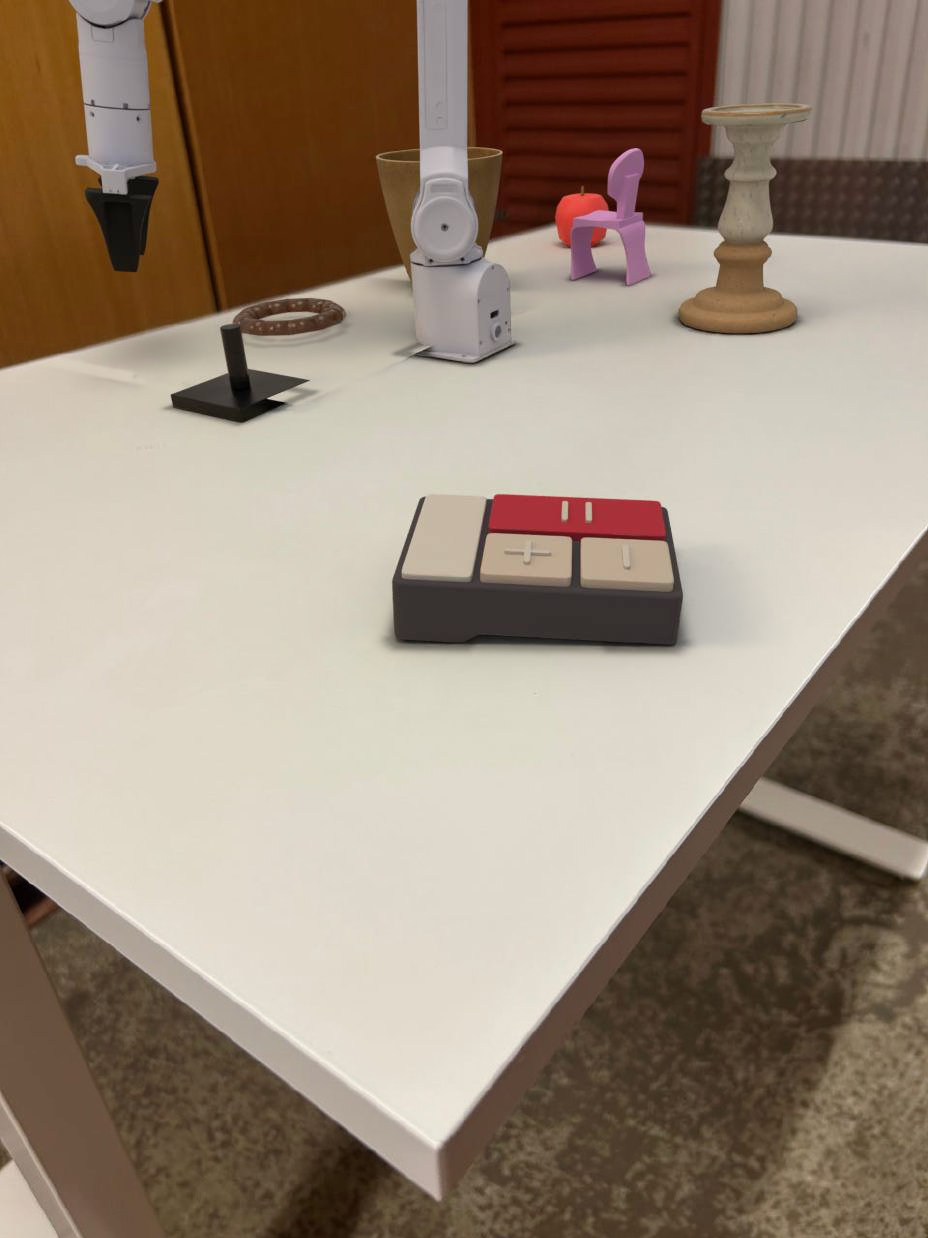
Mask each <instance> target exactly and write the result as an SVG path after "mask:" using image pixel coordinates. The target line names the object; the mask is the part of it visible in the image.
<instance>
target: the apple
mask: <svg viewBox="0 0 928 1238" xmlns="http://www.w3.org/2000/svg"><path fill="white" fill-rule="evenodd" d="M580 186H581V185H580ZM598 210H601V211H610V210H609V204H608V203H607V202H606V200H605V198H604V197H603V195H601V194H598V193H591V192H590V193H587V192H585V186H584V185H582V186H581V187H580V193H573V194H568V195H565V196H562V198H561V199H560V201H559V202H558V204H557V206H556V211H555V215H554V219H555V225H556V230H557V237H558V239H559V240H560V241H562V242H563V243H564V244H566V245H567V246H568V247H569V248H571V242H570V230H571V228H572V227H573V218H576V217H580V216H585V215H588V214H590V213H592V212H595V211H598ZM607 231H608V229H607V228H602V227H595V228H594V231H593V234H592V239H591V248H592V247H594V246H596V245H597V244H598V243H600V242H601V241H602V240H604V239H605V238H606V235H607Z"/></svg>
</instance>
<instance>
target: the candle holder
mask: <svg viewBox="0 0 928 1238" xmlns="http://www.w3.org/2000/svg"><path fill="white" fill-rule="evenodd" d="M812 115H813V106H812V105H810V104H806V103H790V102H789V103H787V102H785V103H784V102H781V103H779V102H778V103H776V102H775V103H774V102H773V103H772V102H771V103H747V104H731V105H721V106H712V107H708V108H704V109H703V110H702V111H701V113H700V120H701V122H702V123H703V124H706V125H710V126H720V127H721V126H723V127H724V129H725V135H726V137H727V140H728V141H729V142H730V143H731V144H732V147H733V153H734V154H733V160H732V163H731V165H729V167H728V168H727V169H725V171H724V173H723V175H724V178H725V179H726V180H727V181H729V186H728V190H727V191H728V192H727V195H726V199H725V203H724V206H723V209H722V211H721V214H720V216H719V218H718V222H717V231H718V233H719V235H720V236H721V237H722V238H723V241H721V242H720V243H719V245H718V246H717V247H716V248H715V249H714V250H713V257H714V259H716V262H717V263H718V264H719V268H718V274H717V279H716V283H715V285H714V286H711V287H706V288H704V289H701V290H699V291H698V292H696V294H695V295H694V297H691V298H688V299H686V300H685V301H683V302H682V303H681V304H680V306H679V308H678V313H677V314H678V319H679V321H680V322H681V323H682V324H683V325H685V326H688V327H689V328H693V329H695V330H700V331H705V332H712V333H719V334H757V333H766V332H767V333H768V332H773V331H776V330H777V331H778V330H781V329H785V328H787V327H789V326H791V325H792V324H794V323H795V322H796V319H797V316H798V308H797V307H798V306H797V305H796V304H795V303H794V302H793V301H791V300H789V299H787V298H784V297H783V295H782V293H781V292H780V291H778V290H776V289H774V288H771V287H766V286H764V265H765V264H766V263H767V261H769V259H770V258H771V257H772V254H773V250H772V248H771V247H769V244H768V243H767V241H766V240H765V239H766V238H767V236H768V235H770V234H771V232H772V231H773V227H774V218H773V212H772V208H771V200H770V181H771V180H773V179H774V178H775V177H776V176H777V169H776V168H775V167H774V166H773V165H772V162H771V157H770V156H771V150H772V148H773V145H774V144H775V143H776V142H777V141H778V140H779V139H780V137H782V134H783V132H784V128H785V126H786V125H787V124H795V123H802V122H805V121H807V120H809V119H811V117H812Z"/></svg>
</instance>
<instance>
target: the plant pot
mask: <svg viewBox="0 0 928 1238" xmlns="http://www.w3.org/2000/svg"><path fill="white" fill-rule="evenodd" d="M503 153H504V152H503V151H502V150H501V149H497V148H489V147H475V146H467V159H468V191H469V193H470V195H471V197H472V199H473V202H474V206H475V212H476V215H477V218H478V234H477V238H476V241H475V243H476V244H477V246H480V247H482V250H483V257H484V258H485V257H486V254H487V249H488V247H489V246H488V245H489V242H490V238H491V232H492V228H493V224H494V219H495V213H496V208H497V207H496V206H497V200H498V195H499V187H500V181H501V180H500V179H501V171H502V163H503ZM375 160H376V166H377V172H378V177H379V182H380V187H381V191H382V195H383V199H384V204H385V208H386V212H387V215H388V219H389V222H390V227H391V229H392V230H391V231H392V233H393V235H394V239H395V243H396V246H397V248H398V251H399V255H400V258H401V260H402V263H403V266H404V268H405V271H406V274H407V276H408V278H409V281H410V283H411V284H412V274H411V260H410V254H411V253H412V252H414V251H415V250H416V249H417V248H418V247H417V246H416V244H415V242H414V240H413V237H412V233H411V219H412V215H413V203H414V200H415V197H416V195H417V193H418V191H419V188H420V148H415V149H404V150H397V151H388V152H383V153H379V154H377V155H375ZM485 259H486V258H485Z"/></svg>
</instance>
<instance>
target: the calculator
mask: <svg viewBox="0 0 928 1238" xmlns="http://www.w3.org/2000/svg"><path fill="white" fill-rule="evenodd" d="M673 538H674V537H673V531H672V526H671V521H670V515H669V511H668V509H667V507H664V506H662V503H661V502H660V501H658V500H648V499H627V498H606V497H605V498H603V497H602V498H601V497H581V496H580V497H577V496H554V495H553V496H552V495H531V494H529V495H528V494H508V493H507V494H506V493H496V494H495V495H494V496H493V498H487V497H486V496H482V495H466V494H465V495H462V494H459V495H458V494H437V493H430V494H426V496H422V497H420V498H419V500H418V502H417V505H416V509H415V511H414V515H413V517H412V519H411V523H410V525H409V528H408V533H407V535H406V538H405V541H404V544H403V546H402V550H401V553H400V555H399V558H398V562H397V564H396V566H395V570H394V573H393V577H392V580H391V588H392V589H391V591H392V592H391V594H392V613H393V614H392V615H393V634H394V636H395V638H396V639H399V640H406V641H407V640H409V641H422V642H425V641H426V642H441V643H442V642H443V643H464V642H466V641H468V640H470V639H472V638H474V637H477V636H480V635H482V636H483V635H486V636H504V637H522V638H541V639H557V640H558V639H560V640H578V641H596V642H613V643H614V642H615V643H630V644H633V643H634V644H651V645H674V644H676V643H677V641H678V635H679V628H680V623H681V622H680V621H681V616H682V615H681V614H682V608H683V599H684V593H683V586H682V582H681V577H680V576H681V575H680V571H679V565H678V560H677V553H676V549H675V543H674V539H673Z"/></svg>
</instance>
